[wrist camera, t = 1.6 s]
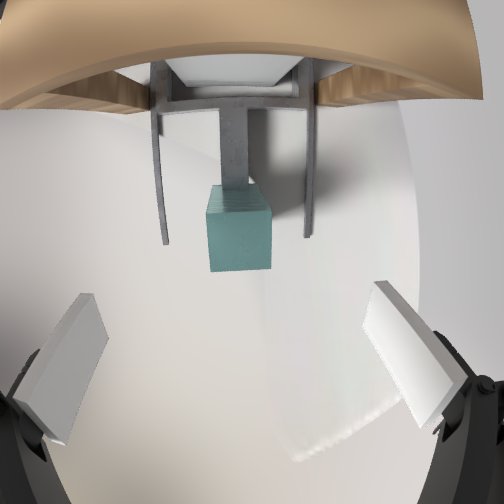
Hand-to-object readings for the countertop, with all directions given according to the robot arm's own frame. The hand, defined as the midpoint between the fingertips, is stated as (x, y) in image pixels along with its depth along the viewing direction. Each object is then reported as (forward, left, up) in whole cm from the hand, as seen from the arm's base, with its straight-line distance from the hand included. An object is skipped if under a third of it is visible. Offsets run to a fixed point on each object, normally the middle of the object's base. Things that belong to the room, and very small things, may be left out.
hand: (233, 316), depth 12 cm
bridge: (-17, +1, -19) cm, 25 cm away
